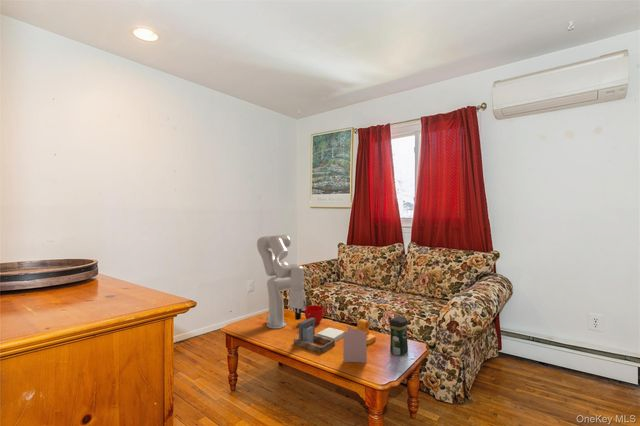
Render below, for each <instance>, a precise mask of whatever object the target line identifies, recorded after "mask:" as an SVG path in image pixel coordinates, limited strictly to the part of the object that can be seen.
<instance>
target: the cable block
mask: <svg viewBox="0 0 640 426" xmlns="http://www.w3.org/2000/svg"><path fill="white" fill-rule="evenodd" d="M303 341H306V342H309V343H312V344H314V341H313V327H312V326H311V325H308V326H306V327H303Z"/></svg>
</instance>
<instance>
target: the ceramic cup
mask: <svg viewBox="0 0 640 426" xmlns="http://www.w3.org/2000/svg"><path fill="white" fill-rule="evenodd" d="M324 309H325V308H324V306H322V305H319V304H316V305H314V304H313V305H306V307H305V310H304V317H305V320H307V319H309V318H311V317H312V318H316V322H315V326H316V325H319V324H320V322H321V321H322V320H323V317H324V311H325V310H324Z"/></svg>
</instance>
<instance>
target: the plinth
mask: <svg viewBox="0 0 640 426" xmlns="http://www.w3.org/2000/svg"><path fill="white" fill-rule="evenodd" d="M343 332H346V331H344V330H341V329H336V328H333V327H326V328H325V329H323V330H321V331H319V332H317V333H316V335H318V336H322V337H325V338H328V339H332V340H335V342H337V341H339V340H340V339H343Z"/></svg>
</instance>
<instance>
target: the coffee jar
mask: <svg viewBox="0 0 640 426" xmlns="http://www.w3.org/2000/svg"><path fill="white" fill-rule="evenodd" d="M389 328H390V329H389V330H390V342H389V343H390V344H389V345H390V346H389V347H390V348H389V349H390V350H389V352H390V353H391V354H392V355H393V356H396V357H397V356H399V357H403V356H404V355H406V354H408V351H409V346H408V319H407V318H406V317H405V316H404V315H403V316H402V315H397V316H394V317H392V318H391V319H389Z"/></svg>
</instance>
